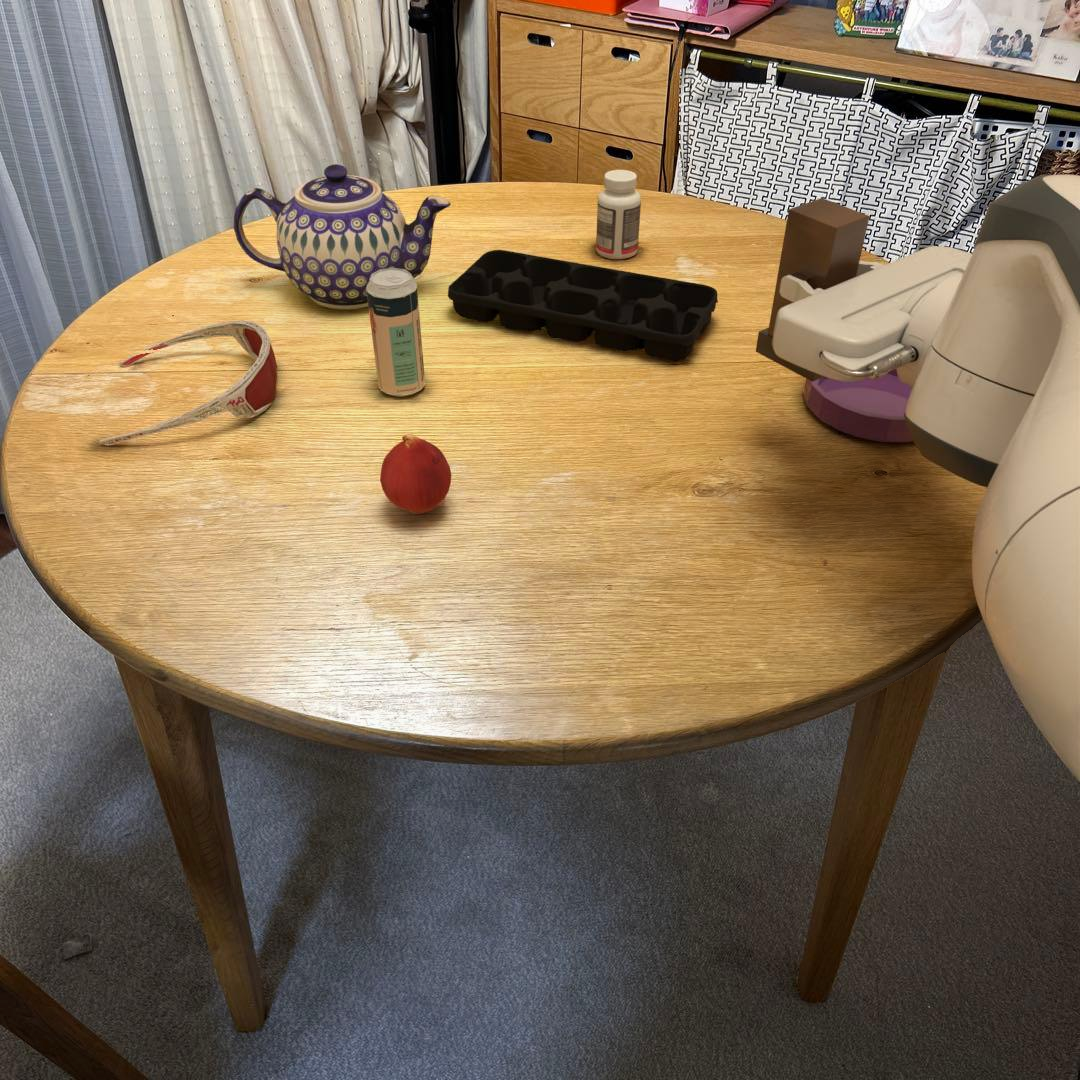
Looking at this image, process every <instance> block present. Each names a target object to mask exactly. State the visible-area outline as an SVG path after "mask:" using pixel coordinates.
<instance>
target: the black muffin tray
mask: <svg viewBox="0 0 1080 1080" xmlns="http://www.w3.org/2000/svg"><path fill="white" fill-rule="evenodd" d="M447 298H448V299H449V300H450V301H452V306H453V309H454V312H455V313H456V314H457V315H458V316H459V317H460V318H463V319H465V320H469V321H475V322H479V323H490V322H492V321H494V320H495V319H496V318H497V317H498V319H499V320H498V321H499V324H500V326H501V327H502V328H504V329H506V330H510V331H514V332H515V331H518V332H525V333H526V332H527V333H532V332H533V333H534V332H536V331H542V328H545V330H544V331H543V332H544V333H546V335H547V336H548V337H549V338H552V339H555V340H557V339H558V340H562V341H567V342H576V343H577V342H578V343H581V342H585V341H586V340H588V339H589V338H590V336H591V335H592V334H593V339H594V344H595V345H597V346H599V347H601V348H605V349H608V350H613V351H618V352H623V353H625V352H634V351H640V350H643V351H644V353H645V354H646V355H647V356H648V357H650V358H653V359H654V358H656V359H659V360H664V361H667V362H673V363H677V362H680V361H685V360H687V358H689V357H690V356H691V353H692V351H693V347H694V344H695V343H696V341H697V339H698V337H699V335H701V334H703V333H704V332H705V331H706V330H707V328H708V327H709V325H710V324H711V322H712V321H711V319H712V315H713V314H712V313H714V312H715V310H716V307H717V304H718V303H719V300H718V290H717V289H716V288H715V287H712V286H710V285H707V284H702V283H695V282H690V281H685V280H678V279H673V278H668V277H662V276H655V275H649V274H644V273H637V272H631V271H625V270H620V269H615V268H610V267H603V266H596V265H592V264H591V265H590V264H585V263H579V262H575V261H574V262H573V261H568V260H561V259H556V258H551V257H545V256H541V255H540V256H539V255H533V254H528V253H522V252H517V251H512V250H511V251H510V250H505V249H493V250H488V251H487V252H486V251H485V253H483V254H482V255H481V256H479V258H478V259H476V260H475V261H474V263H472V264H471V265H470V266H469V267H468V268H467V269H466V270H465V271H464V272H463V273H461V274H460V276H458V277H457V278H456V279H455V280H454V281H453V282H452V283H451V284H449V285H448V288H447Z"/></svg>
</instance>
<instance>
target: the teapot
mask: <svg viewBox="0 0 1080 1080" xmlns="http://www.w3.org/2000/svg"><path fill="white" fill-rule="evenodd" d="M323 175H324V176H321V177H317V178H314V179H312V180H309V181H306V182H304V183H302V184H300V186H298V187H297V188H296V189H295V190H294V196H293V197H292V198H290V199H289V200H288V201H287V202H282V201H280V200H279V199H278V198H276V197H275V196H274V195H273V194H271V193H269V192H268V191H266V190H265V189H263V188H258V187H254V188H251V189H249V191H247V192H245V193H244V194H243V196H242V197H240V199H239V201H238V204H237V205H236V207H235V210H234V214H233V231H234V234H235V238H236V240H237V243H238V244H239V246H240V248H241V249H242V251H243V252H244V253H245V254H246V255H247V256H248V257H249V258H250V259H252V260H253V261H255V262H257V263H258V264H260V265H263V266H264V267H267V268H270V269H274V270H276V271H280V272H283V273H285V274H286V276H287V278H288V279H289V281H290V282H291V284H292V285H293V286H294V287H296V288H297V289H298V290H299V291H301V292H302V293H303V294H304V295H306V296H308V297H309V298H310V299H311V301H313V302H314V303H315V304H317V305H319V306H321V307H323V308H328V309H333V310H344V311H345V310H348V311H349V310H358V309H363V308H369V306H368V298H367V290H366V287H367V284H368V283H369V281H370V277H371V274H373V273H374V272H376V271H378V270H380V269H388V268H398V269H405V270H406V271H408V272H409V273H411V275H412V277H413V278H414V279H415V278H417V277H418V276H420V275H421V274H422V273H423V271H424V270H425V269H426V267H427V265H428V264H429V260H430V257H431V250H432V242H433V233H434V225H435V220H436V218H437V214H439V213H440V212H442V211H443V210H445V209H447V208H449V207H450V206H451V205H452V203H451V202H450V201H449V200H448V199H446V198H445V197H441V196H440V195H439V196H438V195H429V196H426V198H425V199H424V200H422V203H421V204H420V207H419V209H418V210H417V213H416V217H415V219H414V220H413V221H411V222H410V223H409V224H408V223H407V221H406V218H405V216H404V213H403V212H402V210H401V208H400V207H399V206H398V204H397V203H396V202H395V201H394V200H393V199H392V198H391V197H389V196H388V195H386V194H385V193H384V192H383V191H382V188H381V186H380V185H379V184H378V183H377V182H375V181H374V180H372V179H370V178H366V177H363V176H359V175H349V174H348V169H347V168H346V167H345V166H344V165H342V164H337V163H335V164H330V165H328V166H327V167H325V168H324V170H323ZM253 200H258V201H261V202H263V203H264V204H265V205H266V207H268V209H269V212H270V213H271V215H272V218H273V219H274V221H275V224H276V244H277V251H278V255H279V257H278V258H277V257H276V258H274V257H271V256H268V255H265V254H263V253H261V252H260V251H259V250H257V248H255V246H253V244H252V243H251V242H250V241H249V239H248V238H247V236H246V234H245V230H244V227H243V218H244V214H245V212H246V209H247V207H248V206H249V204H250V203H251V202H252V201H253Z"/></svg>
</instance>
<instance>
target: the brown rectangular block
mask: <svg viewBox="0 0 1080 1080" xmlns="http://www.w3.org/2000/svg"><path fill="white" fill-rule="evenodd" d="M869 222H870V215H869V214H866V213H863V212H861V211H857V210H855V209H852V208H850V207H847V206H844V205H842V204H839V203H837V202H834V201H832V200H829V199H826V198H824V197H820V198H817V199H815V200H814V199H813V200H811V201H809V202H806V203H803V204H800V205H797V206H795V207H791V208H789V209H788V212H787V218H786V224H785V229H784V236H783V242H782V247H781V254H780V259H779V264H778V271H777V277H776V283H775V289H774V295H773V301H772V306H771V313H770V318H769V323H768V327H767V328H764V329H762V330H759V331H758V333H757V334H758V335H757V341H756V346H755V353H757V354H760V355H761V356H763V357H765V358H767V359H769V360H771V361H773V362H775V363H776V364H778V365H779V366H782V367H784V368H786V369H788V370H789V371H791V372H793V373H795V374H797V375H798V376H801V377H803V378H805V380H806V379H808V380H810V381H812V382H813V381H815V380H817V379H819V378H821V377H823V376H822V375H819V374H817V373H814V372H812V371H809V370H807V369H804V368H802V367H799V366H797V365H795V364H793V363H790V362H788V361H786V360H784V359H782V358H780V357H779V356H777V355H776V354H775V352H774V349H773V346H772V339H773V333H774V327H775V322H776V317H777V313H778V311H779V310H780V309H781V308H782V307H784V306H786V305H789V304H791V303H794V302H792V301H790V300H788V299H785V298H783V297H782V296H781V294H780V285H781V280H782V278H783V277H784V276H787V275H790V274H792V273H795V272H798V273H800V274H801V275H805V276H807V277H809V278H810V283H809V285H810V286H811V287H812V288H813V289H814V290H815V289H817V288H821V289H823V290H826V289H828V288H830V287H833V286H835V285H838V284H840V283H843V282H845V281H847V280H850V279H852V278H855V277H856V275H857V270H858V266H859V261H861V256H862V252H863V247H864V243H865V238H866V234H867V229H868V225H869Z"/></svg>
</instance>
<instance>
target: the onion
mask: <svg viewBox="0 0 1080 1080" xmlns="http://www.w3.org/2000/svg"><path fill="white" fill-rule="evenodd" d="M401 439H402V441H400V442H398V443H397V444H395V445H394V446H393V447H392V448H391V449H390V451H388V453H387V454H386V455H385V457H384V458H383V460H382V463H381V469H380V475H379V477H380V478H379V482H380V485H381V489H382V491H383V493H384V495H385V497H386V498H387V499H388V501H389V502H390V503H392V504H393V505H394V506H396V507H398V508H399V509H402V510H404V511H408V512H410V513H413V514H414V515H422V514H424V513H425V514H426V513H427V512H430V511H433V510H435V508H437V507H439V505H440V504H442V503H443V502H444V500H445V499H446V498H447V495H448V493H449V491H450V488H451V483H452V471H451V467H450V464H449V462H448V460H447V458H446V456H445V454H444V453H443V452H442V450H441V449H440V448H439V447H438V446H436V445H435V444H433V443H431V442H429V441H427V440H425V439H423V438H420V437H417V436H415V435H414V434H413V433H407V434H404V435H403V436H401Z"/></svg>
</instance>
